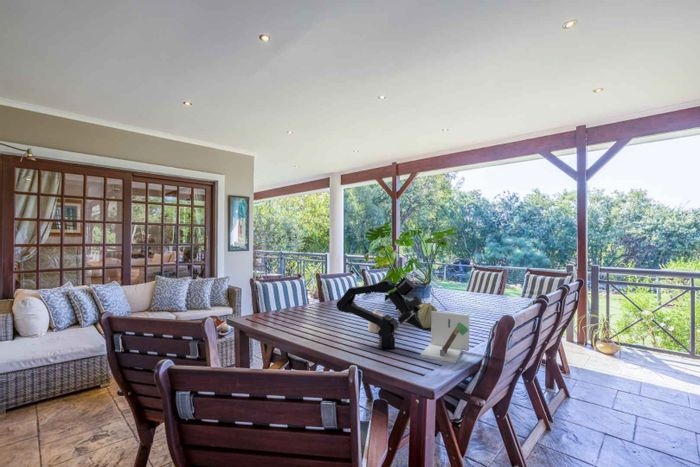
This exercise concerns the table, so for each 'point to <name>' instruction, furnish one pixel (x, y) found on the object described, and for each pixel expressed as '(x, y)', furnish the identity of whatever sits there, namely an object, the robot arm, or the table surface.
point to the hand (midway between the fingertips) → (422, 328)
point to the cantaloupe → (426, 314)
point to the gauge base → (447, 336)
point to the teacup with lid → (372, 326)
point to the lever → (451, 339)
